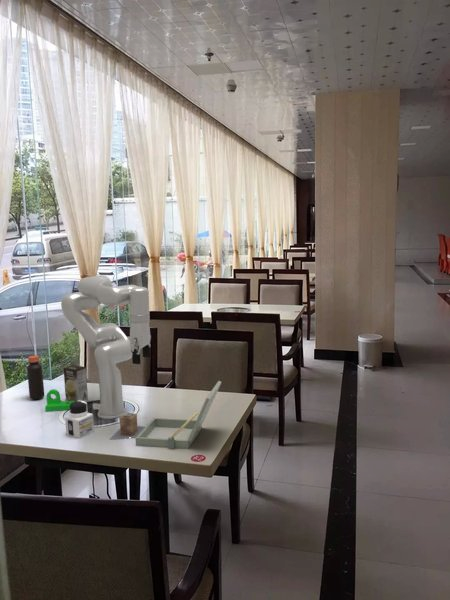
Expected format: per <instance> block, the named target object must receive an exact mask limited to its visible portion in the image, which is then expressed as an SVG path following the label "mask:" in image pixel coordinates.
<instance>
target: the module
mask: <svg viewBox="0 0 450 600" xmlns="http://www.w3.org/2000/svg"><path fill="white" fill-rule="evenodd" d="M137 414H138V413H134V412H127V413H124V414H123V415H122V416H121V417H119V424H120V426H119V427H120V428H119V429H121V435H127V436H133V435H134V434H135V433H136V432H137V431H138V428H137V426H138V417H137V416H138V415H137Z"/></svg>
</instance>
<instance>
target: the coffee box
mask: <svg viewBox="0 0 450 600" xmlns="http://www.w3.org/2000/svg"><path fill="white" fill-rule="evenodd" d="M87 378H88V377H87V367H85V366H81V365H77V364H71V365H68V366H66V367H63V380H64V381H63V382H64V392H65V395H64V396H65V401H85V402H86V401H89V394H88V393H89V392H88V391H89V389H88V379H87Z"/></svg>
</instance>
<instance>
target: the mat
mask: <svg viewBox="0 0 450 600" xmlns="http://www.w3.org/2000/svg"><path fill="white" fill-rule="evenodd" d="M145 427H146V426H144V425H143V426H142V425H141V426H140V425H139V426H138V425H137V428H138V431H137V432H136V433H135V434H134V435H133V436H127V435H121V429H120V428H119V429H118V430H117V431H116V432H115V433H114V434H113V435H112V436H111V437H110V438H109V439H108V440H109V441H115V440H116V441H118V440H130V439H129V437H131V439H135V438H136V437H137V436H138V435H139V434H140V432H141V431H142V430H143V429H144V428H145ZM125 438H126V439H125Z"/></svg>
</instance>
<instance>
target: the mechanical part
mask: <svg viewBox="0 0 450 600" xmlns="http://www.w3.org/2000/svg"><path fill="white" fill-rule="evenodd" d="M52 395H54V396H55V398H53V397H52ZM45 397H46V404H45V406H44V409H45V410H44V411H45V412H53V411H54V412H55V411H68V410H69V411H70V404H71V403H72V402H74V401H66V400H65V401H64V400H63V401H62V400H61V394H60V391H59V390H57V389H50V390H49V391H48V392H47V393H46V395H45Z"/></svg>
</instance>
